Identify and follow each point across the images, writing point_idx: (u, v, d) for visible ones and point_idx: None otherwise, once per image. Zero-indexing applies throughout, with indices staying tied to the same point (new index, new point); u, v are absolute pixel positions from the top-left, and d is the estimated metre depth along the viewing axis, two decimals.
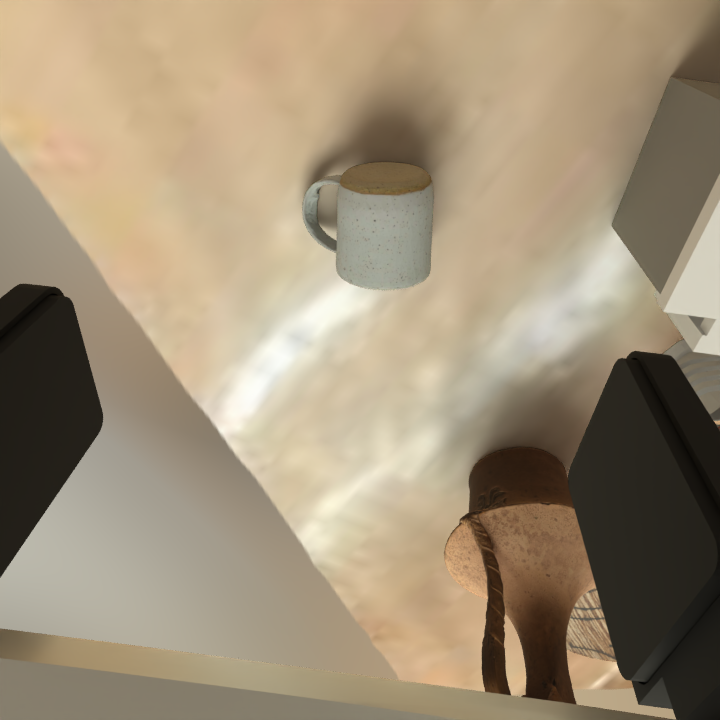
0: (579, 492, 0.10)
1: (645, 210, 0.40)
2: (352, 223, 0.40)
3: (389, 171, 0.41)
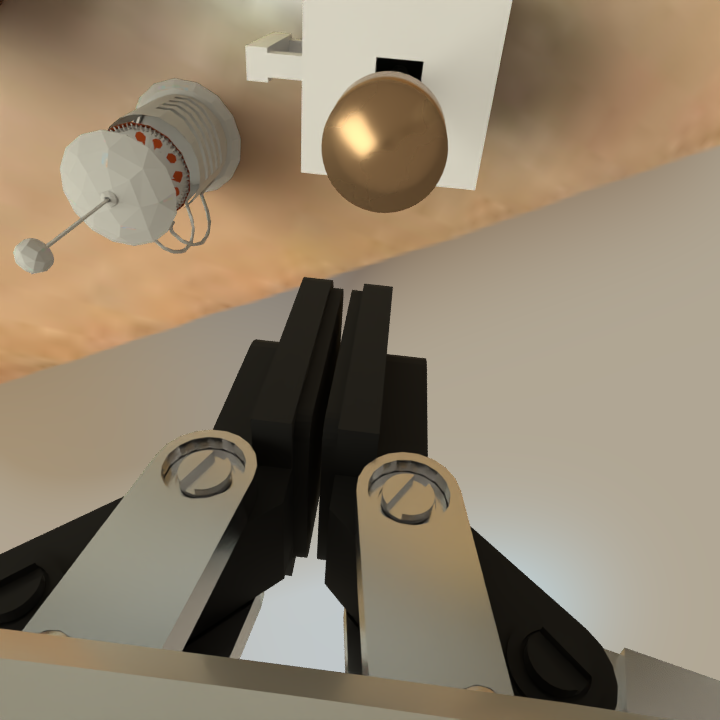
0: None
1: None
2: None
3: None
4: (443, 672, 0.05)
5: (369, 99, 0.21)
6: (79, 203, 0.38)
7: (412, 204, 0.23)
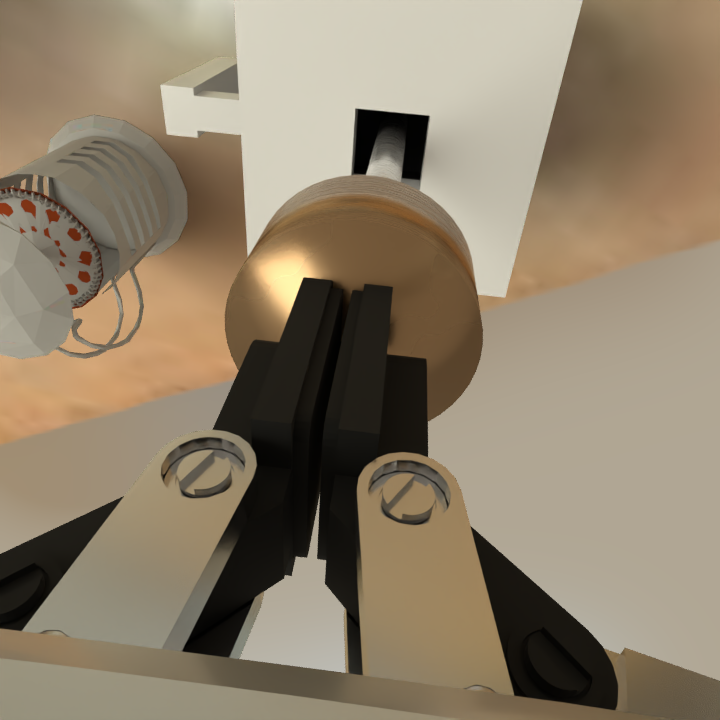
0: None
1: None
2: None
3: None
4: (443, 671, 0.05)
5: (317, 252, 0.10)
6: None
7: None
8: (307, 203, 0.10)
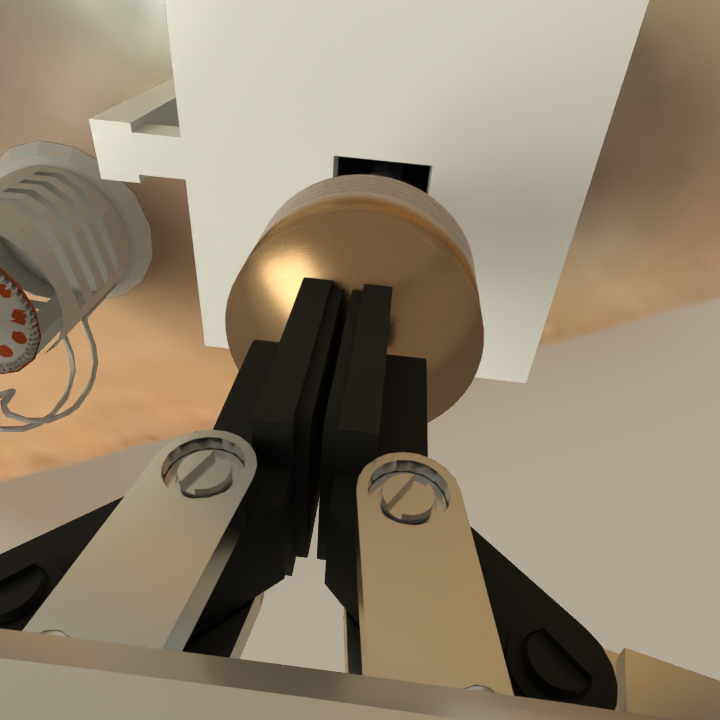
0: None
1: None
2: None
3: None
4: (442, 671, 0.05)
5: (317, 252, 0.10)
6: None
7: None
8: (308, 202, 0.10)
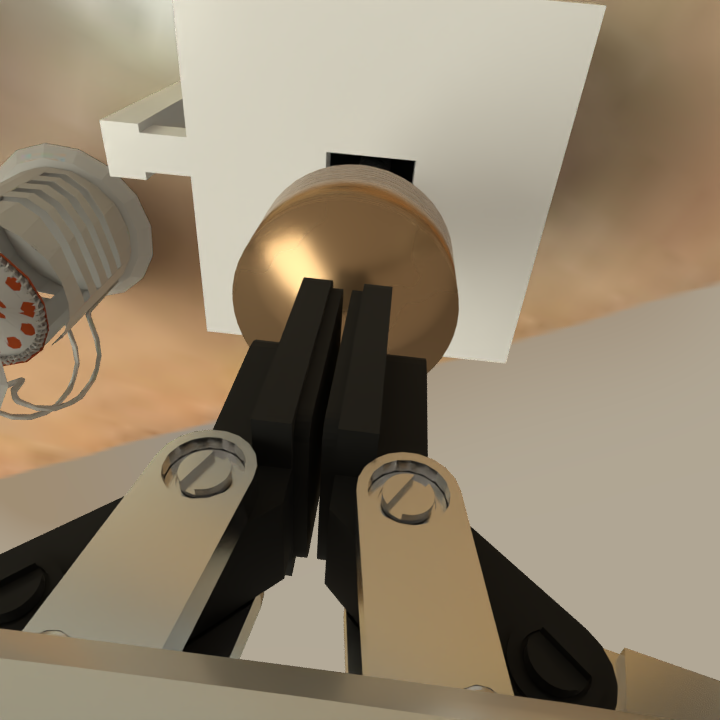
0: None
1: None
2: None
3: None
4: (443, 672, 0.05)
5: (313, 229, 0.11)
6: None
7: None
8: (304, 188, 0.12)
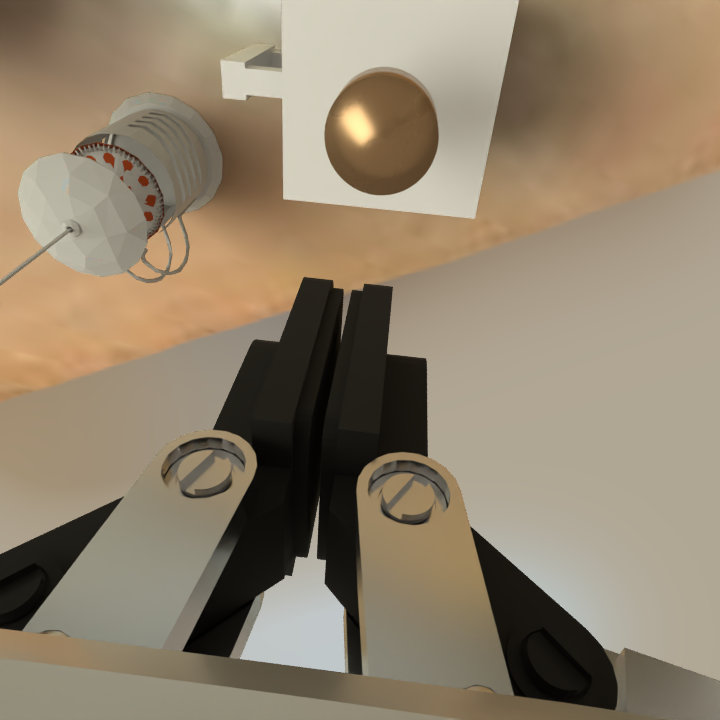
0: None
1: None
2: None
3: None
4: (443, 672, 0.05)
5: (367, 91, 0.23)
6: (39, 232, 0.35)
7: (406, 187, 0.25)
8: (361, 75, 0.24)
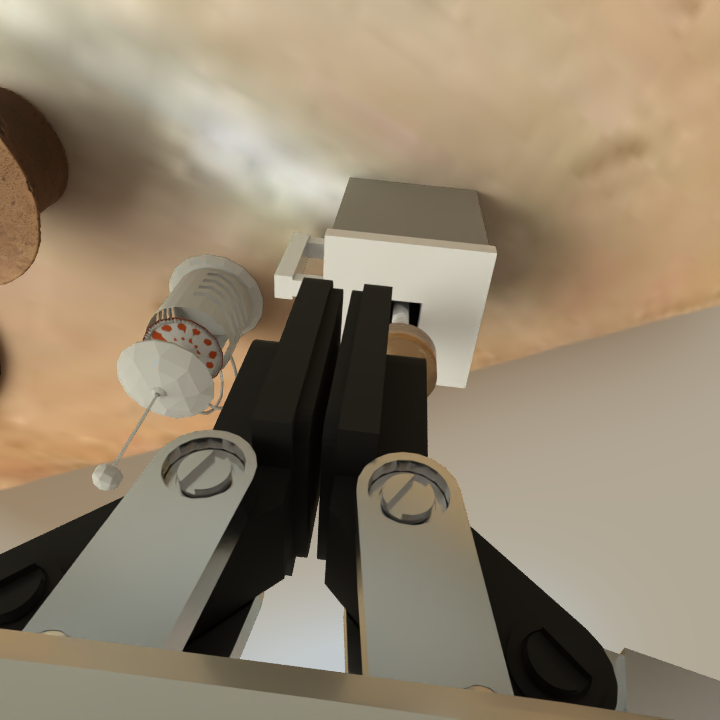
0: None
1: (381, 199, 0.44)
2: None
3: None
4: (443, 672, 0.05)
5: (388, 351, 0.34)
6: (132, 392, 0.45)
7: None
8: None
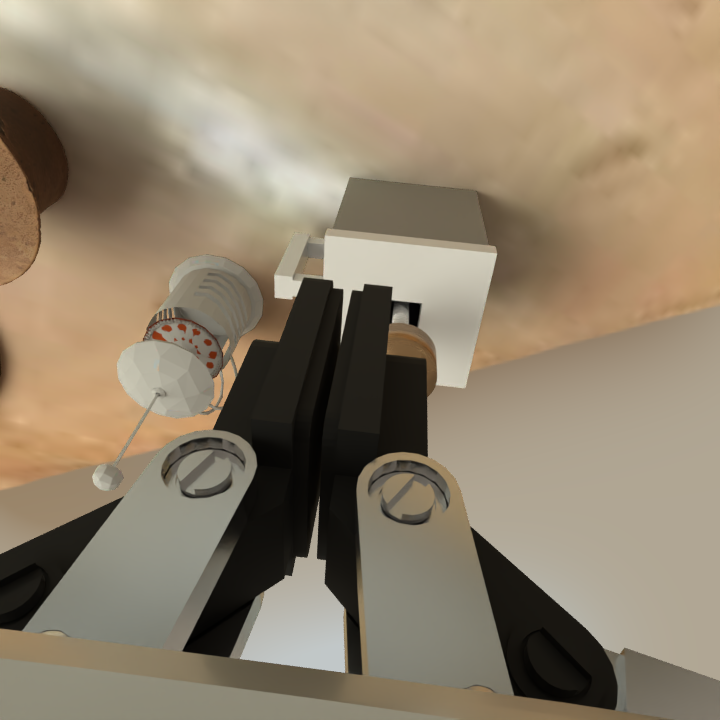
0: None
1: (381, 199, 0.44)
2: None
3: None
4: (444, 671, 0.05)
5: (388, 351, 0.34)
6: (132, 392, 0.45)
7: None
8: None
